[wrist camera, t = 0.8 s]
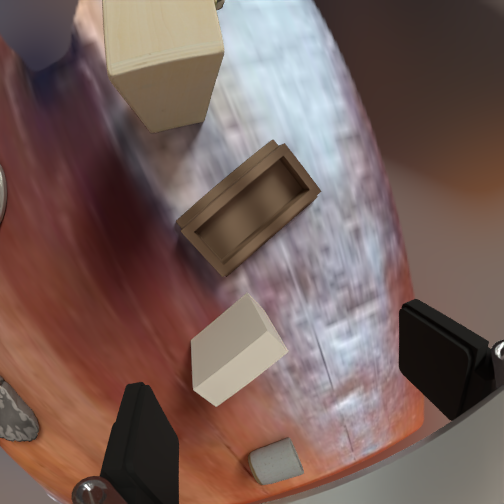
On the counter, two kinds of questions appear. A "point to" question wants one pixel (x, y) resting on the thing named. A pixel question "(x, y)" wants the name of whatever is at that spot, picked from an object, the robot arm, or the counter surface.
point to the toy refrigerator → (163, 58)
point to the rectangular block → (234, 350)
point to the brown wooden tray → (248, 207)
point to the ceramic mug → (275, 462)
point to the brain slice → (16, 416)
